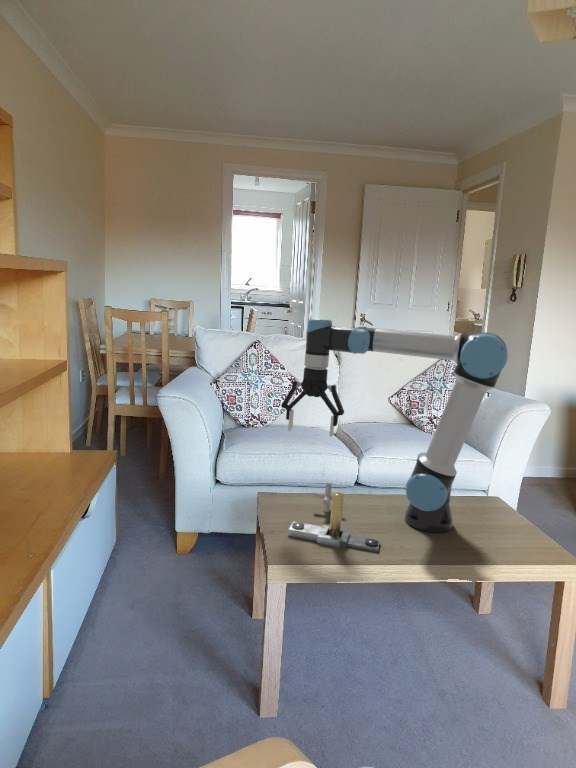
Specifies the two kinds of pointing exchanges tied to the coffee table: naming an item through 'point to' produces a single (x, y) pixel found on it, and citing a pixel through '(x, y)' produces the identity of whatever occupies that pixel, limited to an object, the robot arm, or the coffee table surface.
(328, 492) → the pipe connector
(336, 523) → the pin
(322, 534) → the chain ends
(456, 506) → the coffee table surface
